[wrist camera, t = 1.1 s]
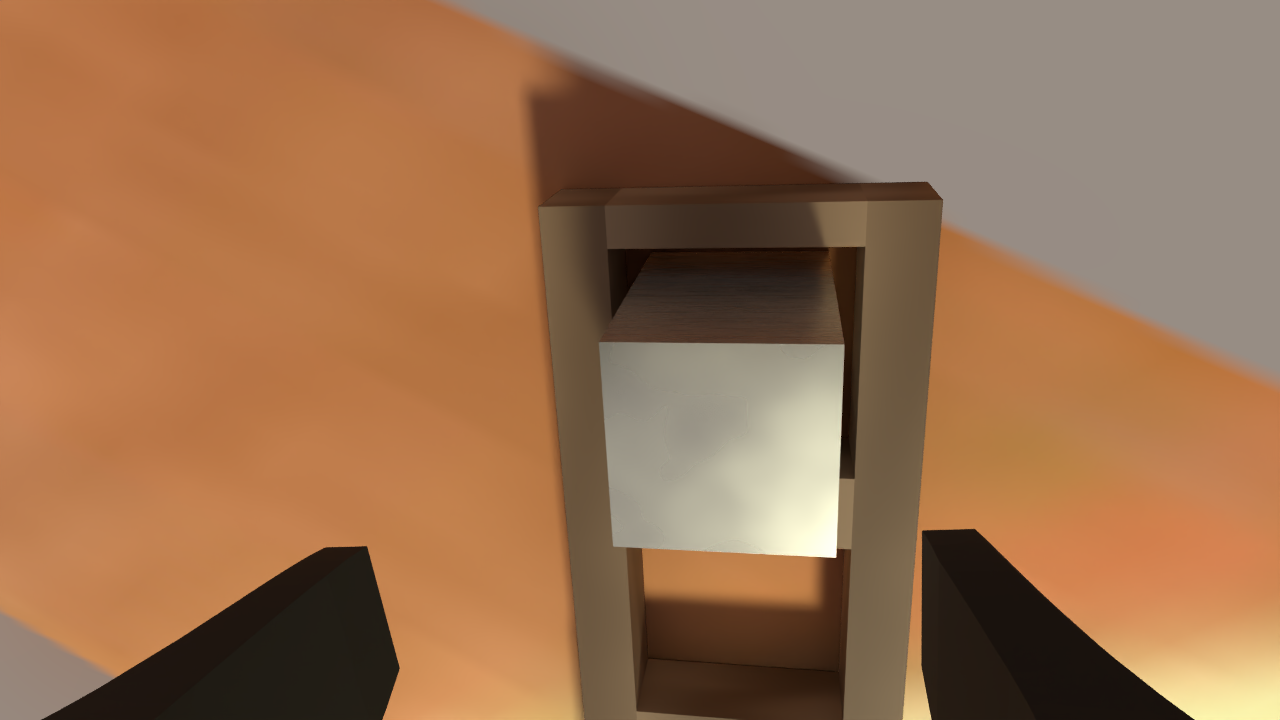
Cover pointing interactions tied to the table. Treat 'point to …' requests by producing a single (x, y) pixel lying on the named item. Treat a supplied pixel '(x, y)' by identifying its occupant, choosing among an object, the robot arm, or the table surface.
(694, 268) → the metal peg
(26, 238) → the table surface
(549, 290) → the beige slotted frame
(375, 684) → the robot arm
